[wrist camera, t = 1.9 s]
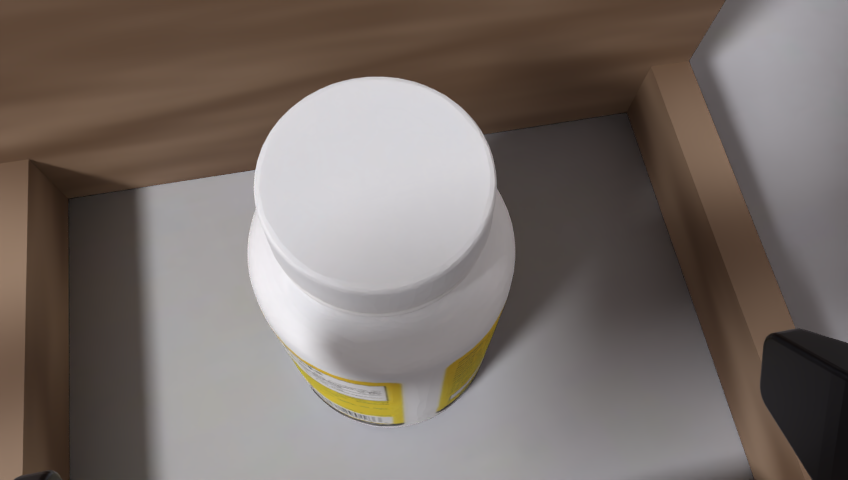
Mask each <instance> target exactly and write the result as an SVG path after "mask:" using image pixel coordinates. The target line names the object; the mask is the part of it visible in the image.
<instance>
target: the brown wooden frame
mask: <svg viewBox="0 0 848 480" xmlns="http://www.w3.org/2000/svg"><path fill="white" fill-rule="evenodd" d="M725 1H726V0H0V480H14V479H15V478H16V477H19V476H21V475H25V474H31V473H36V472H41V471H47V470H52V471H55V472H57V473H58V474H59V475H60V477H61V478H62V480H70V465H69V230H68V199H69V198H75V197H82V196H88V195H95V194H101V193H108V192H114V191H121V190H127V189H134V188H140V187H147V186H153V185H159V184H166V183H172V182H179V181H185V180H192V179H198V178H205V177H211V176H218V175H224V174H231V173H237V172H244V171H250V170H255V169H256V164H257V160H258V157H259V154H260V151H261V149H262V146H263V144H264V142H265V140H266V138H267V136H268V135H269V133H270V131H271V130H272V129H273V127H274V126H275V125H276V123H277V122H278V121H279V119H280V118H281V117H282V116H283V115H284V114H285V113H286V112H287V111H288V110H289V109H290V108H292V107H293V106H294V105H296V104H297V103H298V102H299V101H301V100H302V99H304V98H305V97H306V96H308V95H310V94H312V93H314V92H316V91H318V90H319V89H322V88H324V87H326V86H329V85H331V84H334V83H337V82H341V81H345V80H349V79H354V78H362V77H392V78H400V79H405V80H410V81H414V82H417V83H420V84H422V85H425V86H427V87H430V88H432V89H434V90H436V91H438V92H440V93H442V94H444V95H446V96H447V97H448V98H450V99H451V100H452V101H454V102H455V103H457V104H458V105H459V106H460V107H462V108H463V109H464V110H465V111H466V112H467V113H468V114H469V115H470V117H471V118H472V119H473V120H474V121H475V122H476V124H477V125H478V127H479V128H480V130H481V131H482V133H483V134H489V133H496V132H502V131H509V130H515V129H522V128H528V127H535V126H541V125H547V124H554V123H560V122H567V121H573V120H580V119H586V118H593V117H599V116H606V115H612V114H619V113H625V112H627V114H628V117H629V120H630V123H631V126H632V129H633V132H634V135H635V137H636V140H637V143H638V146H639V149H640V152H641V155H642V158H643V160H644V163H645V166H646V169H647V172H648V175H649V178H650V181H651V183H652V186H653V189H654V192H655V195H656V198H657V201H658V204H659V206H660V209H661V212H662V215H663V218H664V221H665V224H666V227H667V229H668V232H669V235H670V238H671V241H672V244H673V247H674V250H675V252H676V255H677V258H678V261H679V264H680V267H681V270H682V273H683V275H684V278H685V281H686V284H687V287H688V290H689V293H690V296H691V298H692V301H693V304H694V307H695V310H696V313H697V316H698V319H699V321H700V324H701V327H702V330H703V333H704V336H705V339H706V342H707V344H708V347H709V350H710V353H711V356H712V359H713V362H714V365H715V367H716V370H717V373H718V376H719V379H720V382H721V385H722V388H723V390H724V393H725V396H726V399H727V402H728V405H729V408H730V411H731V414H732V416H733V419H734V422H735V425H736V428H737V431H738V434H739V437H740V439H741V442H742V445H743V448H744V451H745V454H746V457H747V460H748V462H749V465H750V468H751V471H752V474H753V477H754V480H812V479H811V477H810V476H809V474H808V473H807V471H806V469H805V468H804V466H803V465H802V463H801V461H800V460H799V458H798V457H797V455H796V454H795V452H794V450H793V449H792V447H791V446H790V444H789V442H788V441H787V439H786V438H785V436H784V435H783V433H782V431H781V430H780V428H779V427H778V425H777V423H776V422H775V420H774V419H773V417H772V415H771V414H770V412H769V411H768V409H767V408H766V406H765V404H764V402H763V400H762V397H761V393H760V375H761V364H762V353H763V344H764V341H765V338H766V337H767V336H768V335H769V334H771V333H774V332H780V331H785V330H790V329H796V328H795V326H794V323H793V321H792V318H791V316H790V313H789V311H788V308H787V306H786V303H785V301H784V298H783V296H782V293H781V291H780V288H779V286H778V283H777V281H776V278H775V276H774V273H773V271H772V268H771V266H770V263H769V261H768V258H767V256H766V253H765V251H764V248H763V246H762V243H761V241H760V238H759V236H758V233H757V230H756V228H755V225H754V223H753V220H752V218H751V215H750V213H749V210H748V208H747V205H746V203H745V200H744V198H743V195H742V193H741V190H740V188H739V185H738V183H737V180H736V178H735V175H734V173H733V170H732V168H731V165H730V163H729V160H728V158H727V155H726V153H725V150H724V148H723V145H722V143H721V140H720V138H719V135H718V133H717V130H716V128H715V125H714V123H713V120H712V118H711V115H710V113H709V110H708V108H707V105H706V103H705V100H704V97H703V95H702V92H701V90H700V87H699V85H698V82H697V80H696V77H695V75H694V72H693V70H692V67H691V65H690V62H689V60H690V58H691V57H692V55H693V53H694V52H695V50H696V49H697V47H698V45H699V44H700V42H701V40H702V39H703V37H704V35H705V34H706V32H707V30H708V29H709V27H710V25H711V24H712V22H713V20H714V19H715V17H716V16H717V14H718V12H719V11H720V9H721V7H722V6H723V4H724V2H725Z"/></svg>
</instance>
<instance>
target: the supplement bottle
mask: <svg viewBox="0 0 848 480" xmlns="http://www.w3.org/2000/svg"><path fill="white" fill-rule="evenodd" d="M254 198H255V206H256V210H255V213H254V215H253V218H252V223H251V227H250V231H249V237H248V249H247V255H248V268H249V275H250V279H251V283H252V287H253V290H254V293H255V296H256V299H257V301H258V303H259V306H260V308H261V311H262V313H263V315H264V317H265V318H266V320H267V322H268V324H269V325H270V327H271V328H272V330H273V332H274V333H275V334H276V336H277V337H278V339H279V340H280V342H281V343H282V344H283V346H284V348H285V349H286V351H287V352H288V354H289V355H290V357H291V358H292V360H293V361H294V363H295V364H296V366H297V367H298V369H299V370H300V372H301V373H302V375H303V376H304V378H305V379H306V381H307V382H308V383H309V385H310V386H311V388H312V389H313V391H314V392H315V393H316V394H317V395H318V396H319V397H320V398H321V399H322V400H323V401H324V402H325V403H326V404H327V405H329V406H330V407H331V408H333V409H334V410H335V411H337V412H338V413H340V414H342V415H343V416H345V417H347V418H349V419H351V420H354V421H356V422H359V423H363V424H366V425H370V426H375V427H387V428H392V427H403V426H409V425H414V424H417V423H421V422H423V421H426V420H428V419H431V418H433V417H434V416H436V415H438V414H440V413H441V412H443V411H444V410H446V409H447V408H449V407H450V406H451V405H452V404H453V403H455V402H456V401H457V400H458V399H459V398H460V397H461V396H462V394H463V393H464V392H465V391H466V389H467V388H468V387H469V385H470V384H471V382H472V381H473V379H474V378H475V376H476V374H477V372H478V370H479V368H480V365H481V363H482V360H483V358H484V355H485V352H486V350H487V348H488V345H489V343H490V340H491V338H492V336H493V333H494V331H495V328H496V325H497V323H498V320H499V318H500V315H501V313H502V310H503V308H504V305H505V303H506V301H507V297H508V294H509V291H510V287H511V282H512V278H513V274H514V266H515V238H514V231H513V226H512V222H511V219H510V215H509V212H508V209H507V207H506V205H505V203H504V201H503V198H502V196H501V194H500V193H499V191H498V189H497V178H496V170H495V164H494V159H493V155H492V153H491V150H490V147H489V144H488V143H487V141H486V139H485V137H484V135H483V133H482V131H481V130H480V128H479V127H478V125H477V124H476V122H475V121H474V120H473V119H472V118H471V117H470V115H469V114H468V113H467V112H466V111H465V110H464V109H463V108H462V107H460V106H459V105H458V104H457V103H455V102H454V101H452V100H451V99H450V98H448V97H447V96H446V95H444V94H442V93H440V92H438V91H436V90H434V89H432V88H430V87H427V86H425V85H422V84H420V83H417V82H414V81H410V80H405V79H400V78H392V77H362V78H354V79H349V80H345V81H341V82H337V83H334V84H331V85H329V86H326V87H324V88H322V89H319V90H318V91H316V92H314V93H312V94H310V95H308V96H306V97H305V98H304V99H302V100H301V101H299V102H298V103H297V104H296V105H294V106H293V107H292V108H290V109H289V110H288V111H287V112H286V113H285V114H284V115H283V116H282V117H281V118H280V119H279V121H278V122H277V123H276V125H275V126H274V127H273V129H272V130H271V131H270V133H269V135H268V136H267V138H266V140H265V142H264V144H263V146H262V149H261V151H260V154H259V157H258V160H257V164H256V169H255V178H254Z"/></svg>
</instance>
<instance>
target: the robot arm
mask: <svg viewBox="0 0 848 480" xmlns="http://www.w3.org/2000/svg"><path fill="white" fill-rule="evenodd" d="M760 393H761V397H762V400H763V402H764V404H765V406H766V408H767V409H768V411H769V412H770V414H771V415H772V417H773V419H774V420H775V422H776V423H777V425H778V427H779V428H780V430H781V431H782V433H783V435H784V436H785V438H786V439H787V441H788V442H789V444H790V446H791V447H792V449H793V450H794V452H795V454H796V455H797V457H798V458H799V460H800V461H801V463H802V465H803V466H804V468H805V469H806V471H807V473H808V474H809V476H810V477H811V479H812V480H848V343H846V342H842V341H839V340H836V339H833V338H829V337H826V336H823V335H820V334H816V333H813V332H810V331H807V330H803V329H790V330H785V331H780V332H774V333H771V334H769V335H768V336H767V337H766V338H765V341H764V344H763V353H762V364H761V375H760ZM14 480H62V478H61V477H60V475H59V474H58V473H57V472H55V471H52V470H47V471H41V472H36V473H31V474H25V475H21V476H19V477H16V478H15V479H14Z"/></svg>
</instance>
